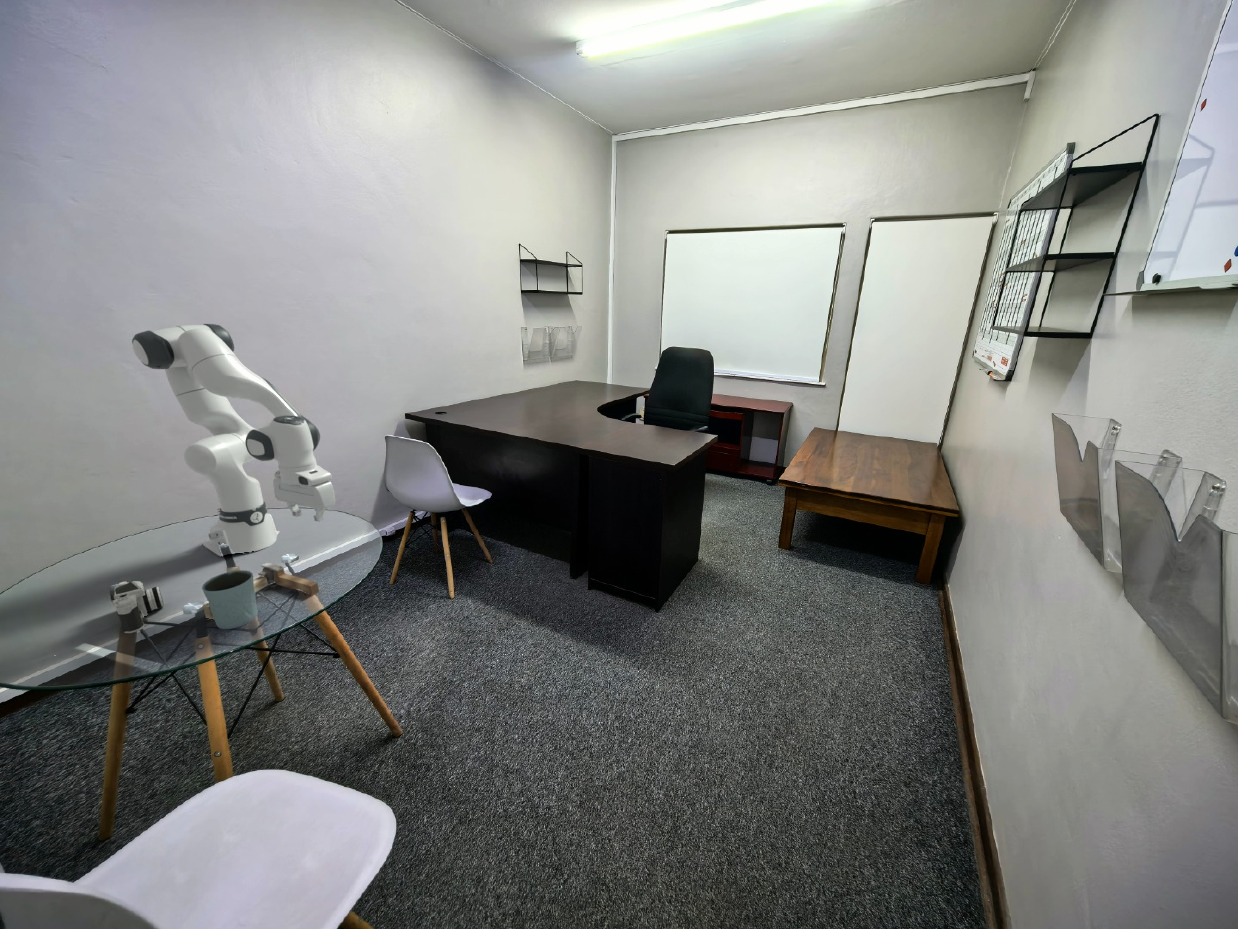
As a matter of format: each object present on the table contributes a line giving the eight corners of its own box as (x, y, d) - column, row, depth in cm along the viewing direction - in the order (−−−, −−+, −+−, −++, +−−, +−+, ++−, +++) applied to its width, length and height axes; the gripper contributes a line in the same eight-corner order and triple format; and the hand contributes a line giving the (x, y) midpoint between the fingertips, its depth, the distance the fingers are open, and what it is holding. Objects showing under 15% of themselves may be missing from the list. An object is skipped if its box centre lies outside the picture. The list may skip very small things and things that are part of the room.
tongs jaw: (264, 583, 137) (260, 565, 135) (271, 580, 139) (267, 562, 137) (313, 598, 130) (309, 579, 129) (319, 594, 132) (316, 576, 130)
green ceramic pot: (256, 604, 128) (247, 566, 124) (266, 619, 121) (257, 580, 118) (209, 620, 120) (198, 580, 117) (216, 637, 114) (205, 595, 110)
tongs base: (274, 580, 139) (271, 564, 138) (283, 582, 138) (280, 565, 137) (203, 618, 121) (199, 600, 119) (214, 620, 120) (209, 602, 118)
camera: (168, 622, 119) (158, 589, 116) (120, 637, 113) (108, 602, 110) (162, 597, 129) (153, 566, 126) (118, 610, 123) (107, 578, 120)
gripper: (262, 471, 129) (272, 516, 133) (314, 481, 122) (323, 528, 126) (285, 465, 134) (294, 509, 138) (335, 474, 128) (343, 519, 132)
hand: (308, 518), depth 132 cm, fingers open, 8 cm apart
